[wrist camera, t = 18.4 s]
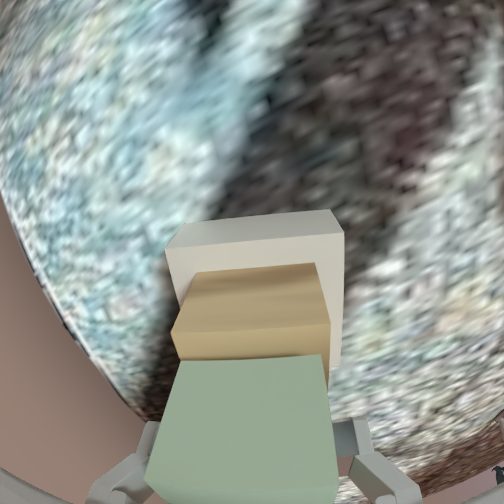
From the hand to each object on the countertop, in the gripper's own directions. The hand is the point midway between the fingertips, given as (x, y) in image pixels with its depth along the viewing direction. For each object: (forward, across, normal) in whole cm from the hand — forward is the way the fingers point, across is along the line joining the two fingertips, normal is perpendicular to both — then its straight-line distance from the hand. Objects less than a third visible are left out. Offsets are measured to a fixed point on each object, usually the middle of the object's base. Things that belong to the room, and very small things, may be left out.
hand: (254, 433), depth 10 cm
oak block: (+8, 0, 0) cm, 8 cm away
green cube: (+2, 0, 0) cm, 2 cm away
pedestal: (+12, 0, 0) cm, 12 cm away
